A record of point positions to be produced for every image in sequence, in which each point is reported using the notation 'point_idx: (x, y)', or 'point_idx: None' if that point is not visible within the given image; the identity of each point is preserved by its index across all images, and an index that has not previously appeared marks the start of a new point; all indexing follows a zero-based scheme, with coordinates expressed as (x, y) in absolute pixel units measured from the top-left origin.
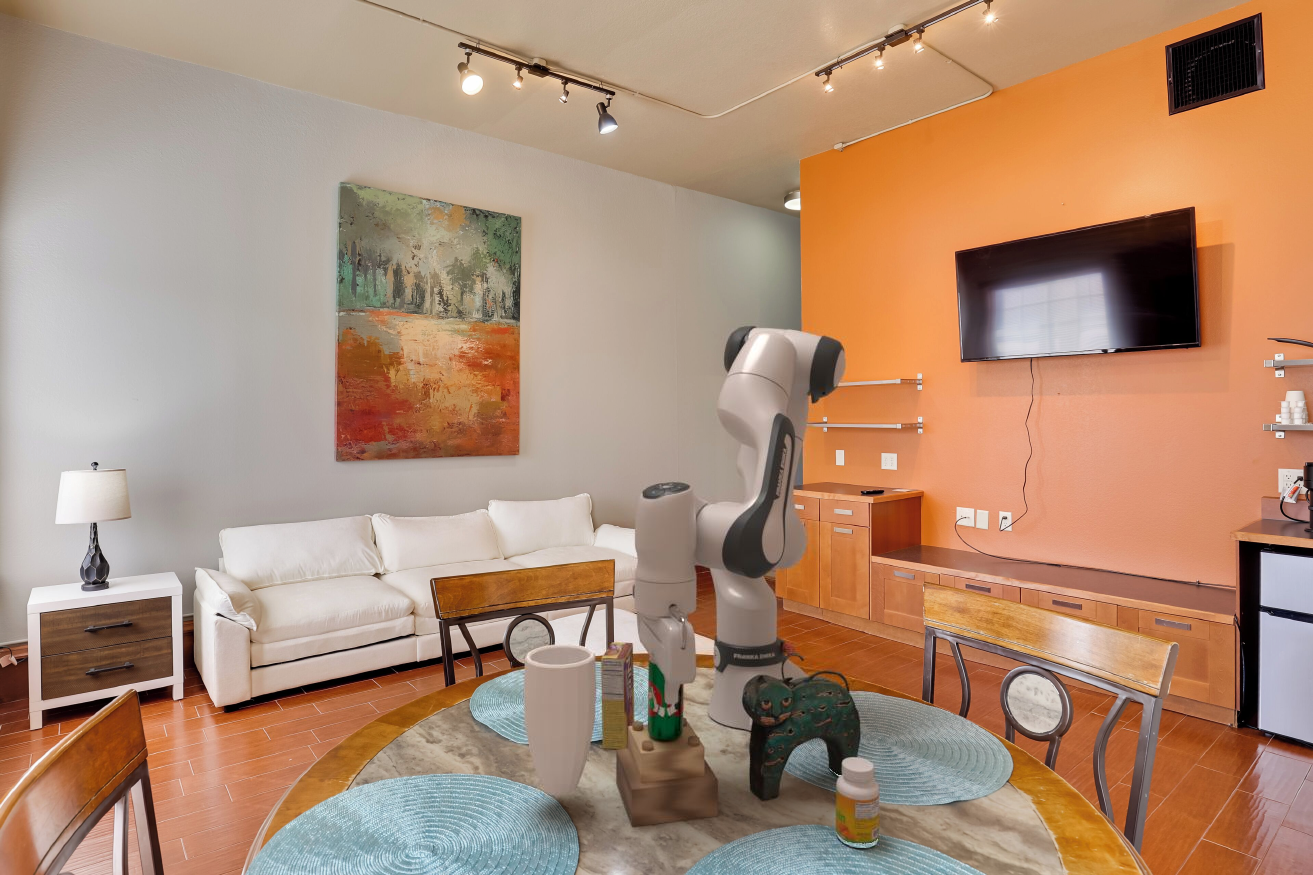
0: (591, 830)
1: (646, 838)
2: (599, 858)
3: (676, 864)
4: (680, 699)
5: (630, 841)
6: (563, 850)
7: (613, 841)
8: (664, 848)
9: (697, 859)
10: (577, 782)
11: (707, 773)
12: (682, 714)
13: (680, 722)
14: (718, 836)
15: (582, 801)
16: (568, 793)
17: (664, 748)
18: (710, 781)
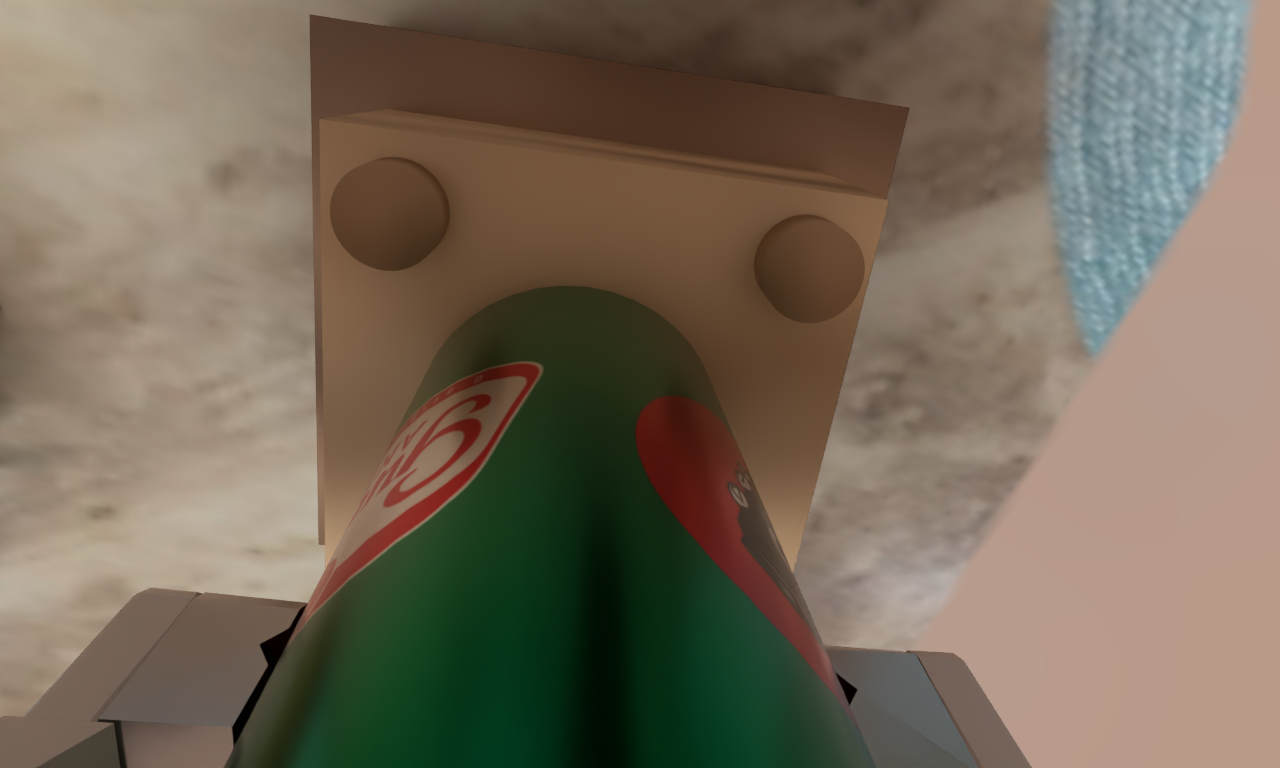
0: None
1: (850, 463)
2: (883, 633)
3: (1054, 417)
4: (769, 524)
5: (840, 521)
6: None
7: (812, 572)
8: (943, 424)
9: (1073, 334)
10: None
11: (806, 138)
12: (686, 382)
13: (711, 391)
14: (986, 179)
15: None
16: None
17: (773, 489)
18: (894, 161)
